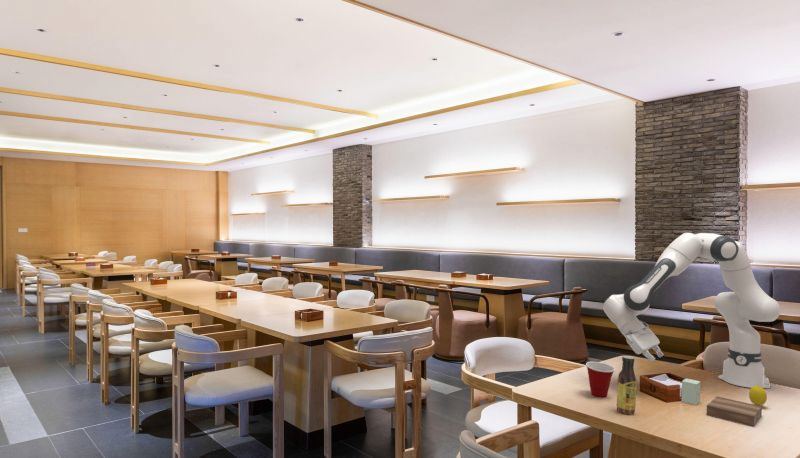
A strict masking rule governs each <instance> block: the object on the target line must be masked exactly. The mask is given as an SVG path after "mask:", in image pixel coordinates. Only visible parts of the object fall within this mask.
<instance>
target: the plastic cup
mask: <svg viewBox="0 0 800 458" xmlns="http://www.w3.org/2000/svg"><path fill="white" fill-rule="evenodd" d="M585 365H586V367H587V368H586V370H587V374H588V382H589V387H590V388H589V389H590V394H591V396H593V397H595V398H599V399H602V398H603V399H604V398H605V399H606V398H607V397H608V393H609V389H610V385H611V381H612V377H613V373H614V372H615V371H616V367H614V366H613V365H610V364H607V363H604V362H599V361H588V362H586V363H585Z"/></svg>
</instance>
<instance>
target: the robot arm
mask: <svg viewBox="0 0 800 458" xmlns="http://www.w3.org/2000/svg"><path fill="white" fill-rule="evenodd" d="M697 257H699V258H701V259H705V260H713V261H717V262H718V266H719V268H720V273H721V276H722V280H723V283H724V285H725V286H726V288H728V289H730V290H731V291H723V292H720V293H718V294H717V295H716V297H715V298H714V307H715V309H716V311H717V312H718V313H719V314H720V315H721V316H722V317H723V319H724V321H725V323H726V325H727V327H728V332H729V333H728V334H729V347H728V349H727V358H726V359H725V360H723V364H722V365H723V366H722V368H723V369H722V374H720V375H718V379H719V380H722V381H724V382H726V383H728V384H731V385H734V386H738V387H742V388H744V387H745V388H750V389H751V388H752V387H754V386H757V385H759V386H760V387H762V388H763V389H771V385H770V380H769V378H768V377H767V375H765V367H764V365H763V364H762V358H763V357H762V352H761V334H760V333H759V331H757V330H756V329H755V328H754V327H753V326H752V325H751V323H750V321H754V322H759V323H761V322H764V323H765V322H766V323H767V322H768V323H770V322H774V321H776V320H777V319H778V318H779V316H780V313H781V307H780V306H781V305H780V304H779V303H778V301H777V300H776V299H774V298H772V297H771V296H769V295H768V293H766V292H765V291H764V290H763V289H762V288H761V287H760V284H759V283H758V281H757V280H756V277H755V276H754V272H753V269H752V266H751V265H752V264H751V262H750V259H749V255H748V252H747V251H746V249H745V247H744V245H743V244H742V242H739V241H736V240H734V239H733V238H731V237H729V236H727V235H721V234H717V233H713V232H711V233H709V232H703V231H701V232H700V231H699V232H698V231H697V232H693V233H690V232H684V233H682V234H680V235H679V236H678V237H676V238H675V239H674V240H673V241H672V242H671V243H670V244H669V245H668V246H667V247H666V248H665V249H664V251H662V253H661V255H660V256H659V257H658V259H657V261H656V263H655V265H654V267H653V268H652V269H651V270H650V271H649V272H648V274H646V275H645V277H644V278H642V279H641V280H640V281H639V282H638V283H636V284H633V285H631V286H629V287H628V288H627V289H625V291H624V292H623V293H622V294H621V293H620V294H611V295H609V296H608V297H607V298H606V299H605V300H604V301H603V304H602V309H603V312H604V313H605V315H606V316H607V317H608V319H609V320H610V321H611V322H612V323H613V324H614V325H615V326H616V327H617V329H618V330H619V332H620V333H621V335H622V336H624V337H625V339H626V340H625V341H626V343H627V344H628V346H630V348H631V349H632V351H633V352H634V353H635V354H636V355H640V354H642V356H644V357H645V358H647V359H648V360H649V361H650V362H654V361H655V360H656V357H655V356H654V355H653V354H651V353H650V350H651V349H652V350H653V351H654V352H655V354H656V356H657V357H658V358H662V357H663V356H664V353H663V352H662V350H661V348H660V347H659V344H660V343H661V342H660V339H659V337H657V335H656V334H655V333H654V331H652V329H651V328H649V324H648V323H646V322H645V321H642V320H639V319H638V317H637V316H639V315H640V316H641V314H644V313H646V312H647V311H648V310H649V308H650V305H651V303H652V299H653V295H654V293H655V292H656V290H658V289H659V288H660V286H661V285H662V284H663V283H664V282H665V281H666V280H667V279H669V278H670V277H676V276H680V274H681V273H683V272H684V271H686V270H687V269H688V268H689V267H690V265H691V264H692V263H694V262H695V260H696V258H697Z"/></svg>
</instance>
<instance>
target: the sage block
mask: <svg viewBox="0 0 800 458" xmlns="http://www.w3.org/2000/svg"><path fill="white" fill-rule="evenodd" d="M681 402H682V403H685V404H689V405H694V406H697V405H698V404H700V403H701V381H699V380H695V379H691V378H684V379H683V380H681Z"/></svg>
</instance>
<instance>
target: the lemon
mask: <svg viewBox="0 0 800 458" xmlns="http://www.w3.org/2000/svg"><path fill="white" fill-rule="evenodd" d="M767 395H768V394H767V392H766V389H765V388H762V387H760V386H759V385H757V386H754V387H752V388H750V390H749V393H748V397H749V400H750V402H751V404H753V405H758V406H763V405H764V404H766V402H767V400H768V396H767Z"/></svg>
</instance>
